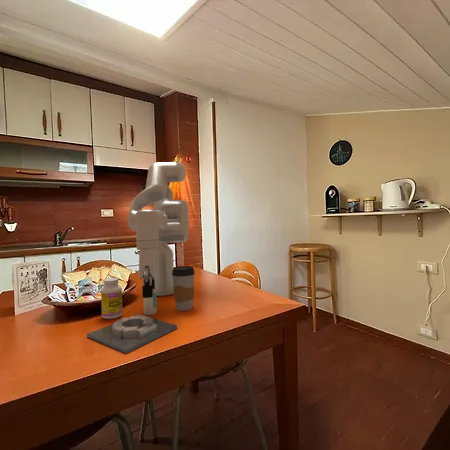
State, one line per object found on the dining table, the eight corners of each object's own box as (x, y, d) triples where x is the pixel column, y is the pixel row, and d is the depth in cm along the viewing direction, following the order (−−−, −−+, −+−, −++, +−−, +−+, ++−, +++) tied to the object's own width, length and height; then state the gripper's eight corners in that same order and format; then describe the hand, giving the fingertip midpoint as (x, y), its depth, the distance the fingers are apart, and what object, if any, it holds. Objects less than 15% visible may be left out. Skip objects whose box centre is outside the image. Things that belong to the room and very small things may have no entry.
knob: (141, 313, 99) (140, 290, 99) (151, 310, 103) (150, 287, 102) (151, 316, 96) (150, 292, 96) (160, 312, 100) (160, 289, 99)
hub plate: (87, 337, 81) (86, 326, 80) (138, 317, 95) (138, 308, 95) (125, 353, 70) (125, 341, 70) (177, 328, 85) (176, 318, 85)
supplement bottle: (107, 321, 93) (105, 282, 92) (98, 316, 97) (97, 279, 97) (126, 315, 97) (124, 278, 97) (117, 311, 102) (115, 276, 101)
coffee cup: (199, 305, 106) (198, 266, 106) (189, 313, 98) (188, 270, 98) (179, 303, 109) (178, 265, 108) (168, 310, 101) (167, 269, 100)
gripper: (139, 243, 106) (140, 289, 106) (132, 247, 89) (134, 301, 89) (160, 243, 107) (161, 287, 107) (157, 246, 90) (158, 299, 90)
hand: (149, 294), depth 98 cm, fingers open, 9 cm apart
